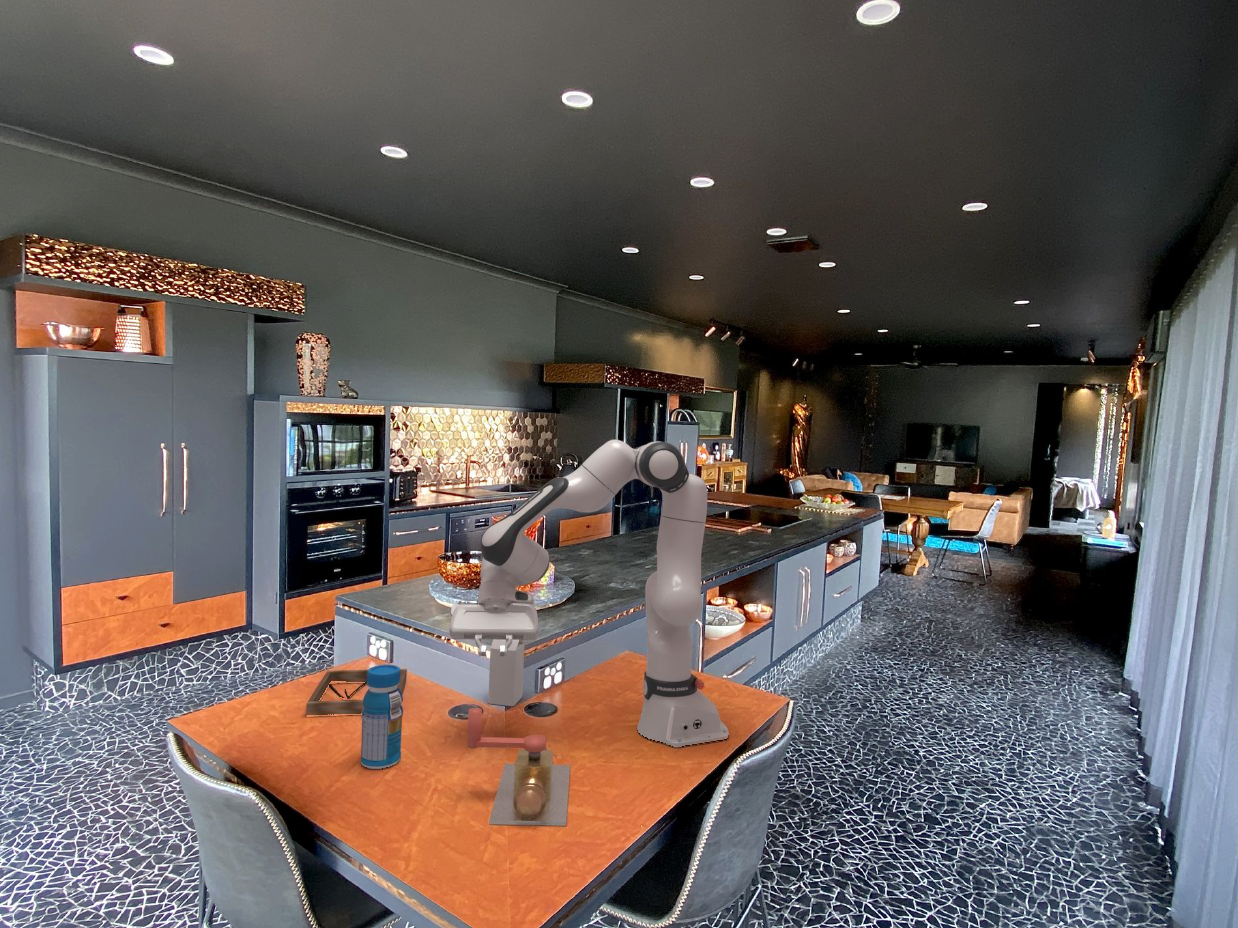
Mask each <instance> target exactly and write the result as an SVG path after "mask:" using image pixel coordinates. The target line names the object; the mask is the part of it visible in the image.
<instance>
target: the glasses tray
mask: <svg viewBox="0 0 1238 928" xmlns="http://www.w3.org/2000/svg"><path fill="white" fill-rule="evenodd" d="M368 670H369V669H346V670H344V669H343V670H342V669H341V670H338V669H337V670H327V671H326V672H325V674H324V676H323V677H322V678H321V679H320V681H319V683H318V684H317V686H316V688H315V690H314V691H313V693H312V694H311V696H310V697H309V699H308V700H307V702H306V708H305V709H306V710H305V711H306V712H305V716H306V715H328V714H329V715H330V714H331V715H332V714H333V715H334V714H361V713H362V710H363V709H364V706H363V699H352V700H343V699H341V700H321V701H319V700H320V698H321V697H322V695H323V693H324V692H325V690H326V688H327V687H328V685H329V683H330V682H331V681H346V682H367V672H368ZM407 672H408V668H400V682H399V685H398V688H399V689H400V691H401V693H402V696H403V694H404V691H405V687H406V683H407V674H408V673H407Z"/></svg>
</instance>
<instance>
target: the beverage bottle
mask: <svg viewBox="0 0 1238 928" xmlns="http://www.w3.org/2000/svg"><path fill="white" fill-rule="evenodd" d="M400 669H401V667H399V666H397V665H394V664H379V665H373V666H372V667H370V668H368V669H367V670H368V672H367V684H366V685H367V687H368V690H367V691H365V694H364V696H363V698H362V700H363V706H364V709H363V710H362V715H361V716H360V717H361V743H360V745H361V749H360V763H361V766H363V767H365V768H366V767H367V769H371V770H382V768H383V769H387V768H386V767H388V768H390V766H391V767H393V766H395V765H396V764H398V763H399V762H400V760H401V757H402V751H401V750H402V749H401V748H402V729H403V728H402V727H403V715H404V707H403V706H402V703H403V701H404V696H403V695H402V693H401V691H400V689H399V688H398V685H399V682H400ZM392 765H393V766H392Z"/></svg>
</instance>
